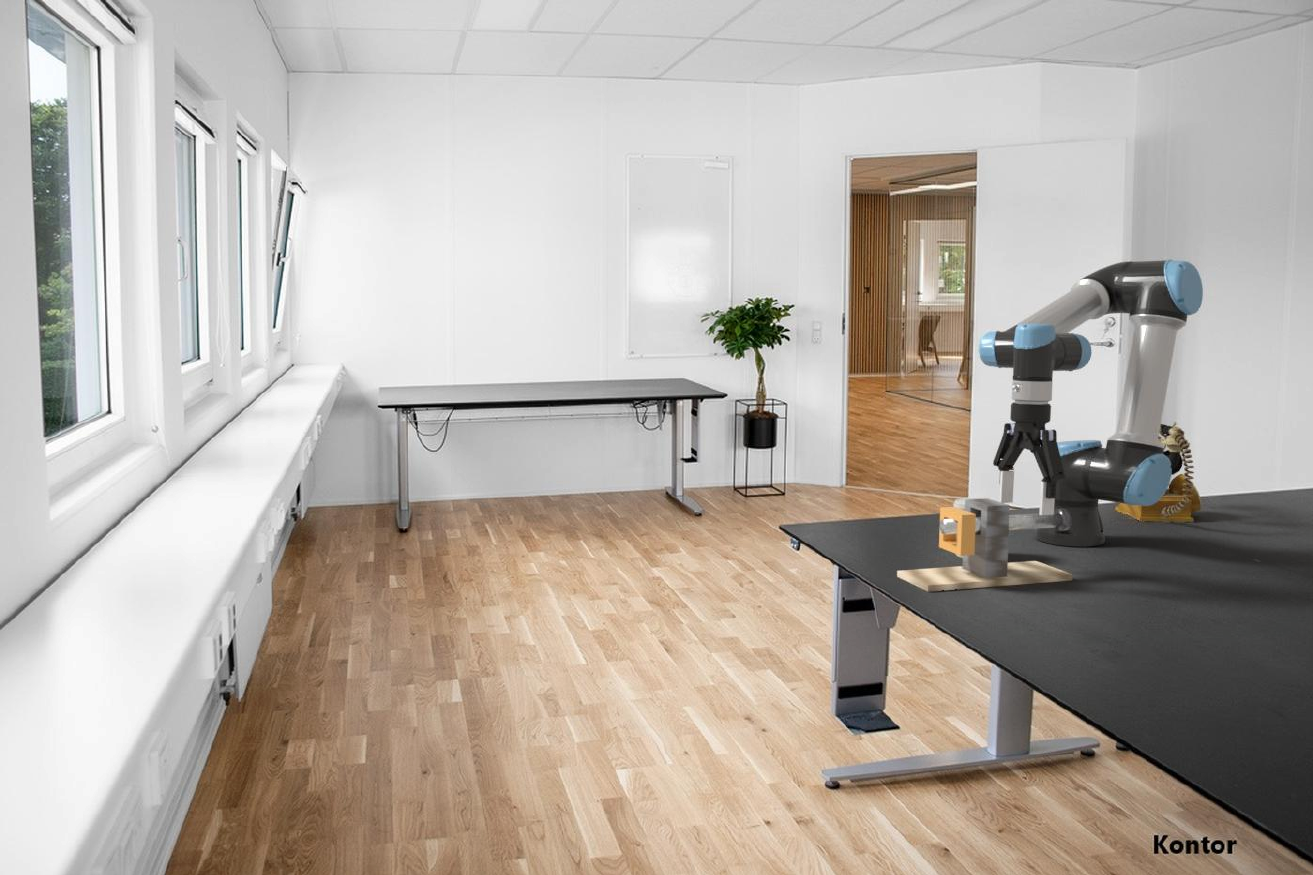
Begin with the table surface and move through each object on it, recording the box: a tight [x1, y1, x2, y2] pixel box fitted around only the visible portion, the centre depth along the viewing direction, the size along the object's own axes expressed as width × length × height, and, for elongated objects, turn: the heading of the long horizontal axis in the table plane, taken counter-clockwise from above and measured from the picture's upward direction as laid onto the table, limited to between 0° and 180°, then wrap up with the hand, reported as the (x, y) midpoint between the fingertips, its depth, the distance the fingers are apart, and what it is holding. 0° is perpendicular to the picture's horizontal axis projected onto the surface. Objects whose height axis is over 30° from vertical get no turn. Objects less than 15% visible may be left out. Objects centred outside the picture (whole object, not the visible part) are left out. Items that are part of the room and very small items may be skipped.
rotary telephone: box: [1115, 421, 1203, 522], centre depth 279 cm, size 35×18×25 cm, turn 179°
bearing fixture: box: [896, 497, 1073, 593], centre depth 220 cm, size 32×12×15 cm, turn 106°
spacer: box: [938, 506, 976, 556], centre depth 218 cm, size 3×8×8 cm, turn 16°
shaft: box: [939, 508, 1072, 534], centre depth 221 cm, size 28×4×4 cm, turn 106°
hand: (1025, 508), depth 222 cm, fingers open, 13 cm apart
